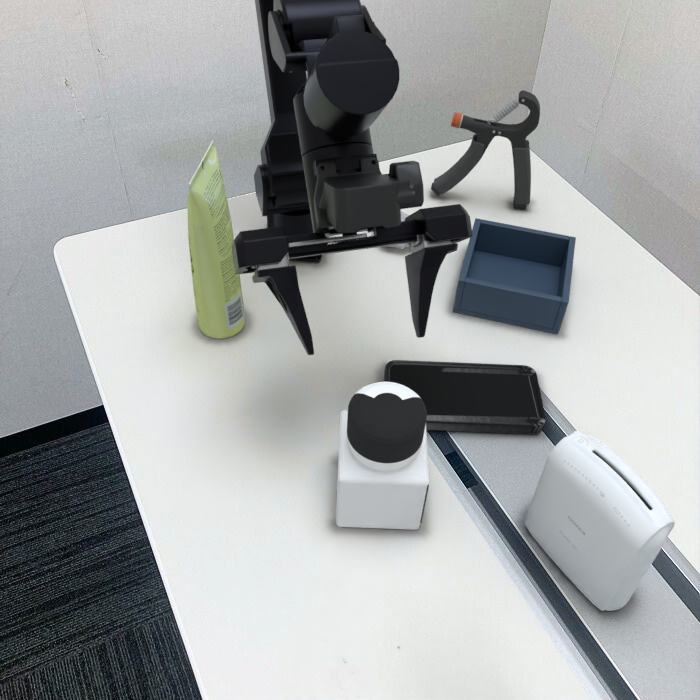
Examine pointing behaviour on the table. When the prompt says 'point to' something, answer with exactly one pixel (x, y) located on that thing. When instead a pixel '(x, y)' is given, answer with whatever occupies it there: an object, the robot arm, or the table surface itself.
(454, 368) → the phone
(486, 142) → the hand grip strengthener
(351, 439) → the medicine bottle
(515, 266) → the bin
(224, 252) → the tube
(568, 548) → the photo printer
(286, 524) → the table surface
